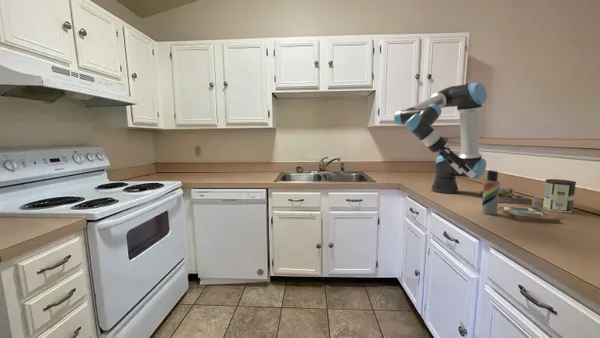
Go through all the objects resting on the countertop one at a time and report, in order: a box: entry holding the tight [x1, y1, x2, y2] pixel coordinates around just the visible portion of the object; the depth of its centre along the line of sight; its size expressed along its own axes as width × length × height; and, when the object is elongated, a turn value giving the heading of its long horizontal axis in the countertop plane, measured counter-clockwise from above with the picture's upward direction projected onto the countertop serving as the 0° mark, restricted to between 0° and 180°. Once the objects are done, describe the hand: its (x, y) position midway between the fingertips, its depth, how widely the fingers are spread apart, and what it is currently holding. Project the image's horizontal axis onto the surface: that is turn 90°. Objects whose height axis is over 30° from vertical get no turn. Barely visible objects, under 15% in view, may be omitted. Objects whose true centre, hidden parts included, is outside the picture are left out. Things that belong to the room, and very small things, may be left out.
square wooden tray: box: [480, 190, 533, 205], centre depth 145 cm, size 17×17×2 cm
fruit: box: [499, 187, 515, 198], centre depth 146 cm, size 9×9×8 cm
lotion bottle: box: [481, 169, 500, 216], centre depth 118 cm, size 6×6×20 cm
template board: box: [497, 197, 561, 224], centre depth 115 cm, size 16×15×8 cm
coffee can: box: [542, 178, 577, 214], centre depth 124 cm, size 10×10×14 cm
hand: (467, 174), depth 120 cm, fingers open, 13 cm apart
